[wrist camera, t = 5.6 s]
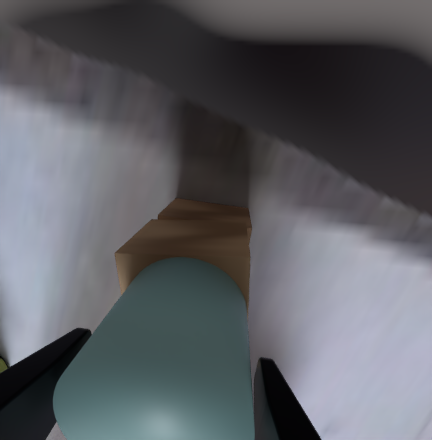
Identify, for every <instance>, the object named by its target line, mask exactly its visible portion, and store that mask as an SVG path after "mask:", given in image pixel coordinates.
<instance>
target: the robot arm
mask: <svg viewBox="0 0 432 440" xmlns="http://www.w3.org/2000/svg"><path fill="white" fill-rule="evenodd" d="M91 335H92V334H91V331H90V330H89V329H84V328H76V329H74V330H72V331H71V332H69V333H67V334H65V335H64V336H62V337H60V338H59V339H57V340H55V341H54V342H52V343H50V344H48V345H47V346H45V347H43V348H42V349H40V350H38V351H37V352H35V353H33V354H31V355H30V356H28V357H26V358H25V359H23V360H21V361H20V362H18V363H16V364H14V365H13V366H11V367H9V368H8V369H6V370H4V371H3V372H1V373H0V440H46V438H47V436H48V435H49V433H50V432H51V430H52V428H53V427H54V425H55V423H56V422H57V420H56V418H55V414H54V410H53V395H54V390H55V387H56V384H57V382H58V380H59V379H60V377H61V375H62V374H63V373H64V371H65V370H66V369H67V367H68V366H69V365H70V363H71V362H72V361H73V359H74V358H75V357H76V355H77V354H78V353H79V351H80V350H81V349H82V347H83V346H84V345H85V343H86V342H87V341H88V339H89V338H90V337H91ZM254 428H255V438H254V439H255V440H322V439H321V438H320V436H319V435H318V433H317V431H316V430H315V428H314V426H313V425H312V423H311V421H310V420H309V418H308V416H307V415H306V413H305V411H304V410H303V408H302V407H301V405H300V403H299V402H298V400H297V398H296V397H295V395H294V393H293V392H292V390H291V388H290V387H289V385H288V384H287V382H286V380H285V379H284V377H283V375H282V374H281V372H280V370H279V369H278V367H277V365H276V364H275V362H274V361H273V360H272V359H269V358H263V357H260V358H259V360H258V364H257V368H256V372H255V377H254Z"/></svg>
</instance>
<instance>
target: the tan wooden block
mask: <svg viewBox="0 0 432 440" xmlns="http://www.w3.org/2000/svg"><path fill="white" fill-rule="evenodd" d="M173 257H187V258H194V259H199V260H202V261H205V262H208V263H210V264H212V265H214V266H216V267H218V268H219V269H221V270H223V271H224V272H225V273H226V274H228V275H229V276H230V277H231V278H232V279H233V280H234V281H235V283H236V284H237V285H238V287H239V288H240V290H241V292H242V294H243V296H244V299H245V302H246V307H247V321H248V305H249V278H250V250H249V242H248V234H247V226H246V221H224V220H155V219H152V220H150V221H149V222H148V223H147V224H146V225H145V226H144V227H143V228H142V229H141V230H139V231H138V232H137V233H136V234H135V235H134V236H133V237H132V238H131V239H130V240H129V241H127V242H126V243H125V244H124V245H123V246H122V247H121V248H120V249H119V250H118V251H116V252H115V259H116V265H117V271H118V277H119V283H120V289H121V295H122V294H123V293H124V292H125V290H126V289H127V288H128V286H129V285H130V284H131V282H132V281H133V280H134V278H135V277H136V276H137V275H138V274H139V272H141V271H142V270H143V269H144V268H145V267H147V266H149V265H150V264H152V263H154V262H157V261H159V260H163V259H167V258H173Z"/></svg>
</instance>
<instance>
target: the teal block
mask: <svg viewBox="0 0 432 440" xmlns="http://www.w3.org/2000/svg"><path fill="white" fill-rule="evenodd" d="M53 410H54V414H55V418H56V420H57V423H58V425H59V427H60V429H61V431H62V432H63V434H64V436H65V437H66V438H67V440H254V438H255V428H254V412H253V397H252V381H251V366H250V351H249V336H248V321H247V307H246V302H245V299H244V296H243V294H242V292H241V290H240V288H239V287H238V285H237V284H236V283H235V281H234V280H233V279H232V278H231V277H230V276H229V275H228V274H226V273H225V272H224V271H223V270H221V269H219V268H218V267H216V266H214V265H212V264H210V263H208V262H205V261H202V260H199V259H194V258H187V257H173V258H167V259H163V260H159V261H157V262H154V263H152V264H150V265H149V266H147V267H145V268H144V269H143V270H142V271H141V272H139V274H138V275H137V276H136V277H135V278H134V280H133V281H132V282H131V284H130V285H129V286H128V288H127V289H126V290H125V292H124V293H123V294H122V296H121V297H120V298H119V299H118V301H117V302H116V303H115V305H114V306H113V307H112V309H111V310H110V311H109V313H108V314H107V315H106V317H105V318H104V319H103V321H102V322H101V323H100V325H99V326H98V327H97V329H96V330H95V331H94V333H93V334H92V335H91V337H90V338H89V339H88V341H87V342H86V343H85V345H84V346H83V347H82V349H81V350H80V351H79V353H78V354H77V355H76V357H75V358H74V359H73V361H72V362H71V363H70V365H69V366H68V367H67V369H66V370H65V371H64V373H63V374H62V375H61V377H60V379H59V380H58V382H57V384H56V387H55V390H54V395H53Z"/></svg>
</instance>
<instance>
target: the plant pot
mask: <svg viewBox="0 0 432 440" xmlns="http://www.w3.org/2000/svg"><path fill="white" fill-rule="evenodd" d="M6 369H8V368H7V366H6V364H5V362H4V361H3V360H2V359H0V373H1V372H3V371H4V370H6Z"/></svg>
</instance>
